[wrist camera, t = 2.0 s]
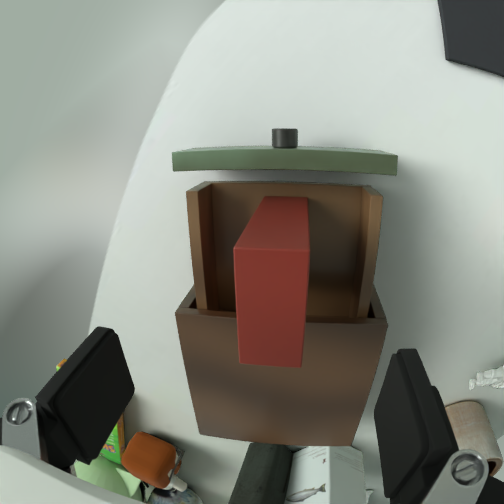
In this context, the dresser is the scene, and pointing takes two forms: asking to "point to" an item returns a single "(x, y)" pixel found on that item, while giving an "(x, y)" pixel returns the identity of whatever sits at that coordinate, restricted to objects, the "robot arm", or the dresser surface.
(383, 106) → the dresser surface
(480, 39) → the pad
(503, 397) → the dresser surface
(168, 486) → the toy
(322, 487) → the white packaging box
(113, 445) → the game box
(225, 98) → the dresser surface
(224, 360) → the cabinet
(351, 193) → the drawer
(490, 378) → the figurine
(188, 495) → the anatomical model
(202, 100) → the dresser surface
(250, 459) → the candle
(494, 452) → the planter
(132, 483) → the toy
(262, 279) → the book
